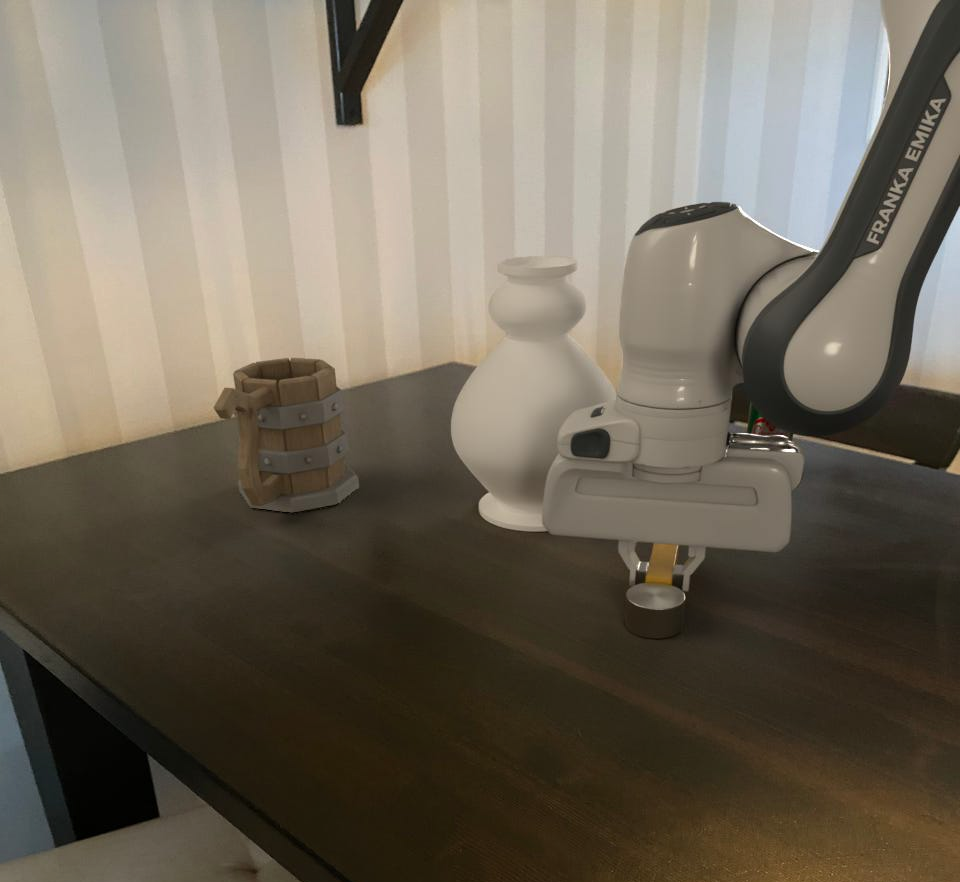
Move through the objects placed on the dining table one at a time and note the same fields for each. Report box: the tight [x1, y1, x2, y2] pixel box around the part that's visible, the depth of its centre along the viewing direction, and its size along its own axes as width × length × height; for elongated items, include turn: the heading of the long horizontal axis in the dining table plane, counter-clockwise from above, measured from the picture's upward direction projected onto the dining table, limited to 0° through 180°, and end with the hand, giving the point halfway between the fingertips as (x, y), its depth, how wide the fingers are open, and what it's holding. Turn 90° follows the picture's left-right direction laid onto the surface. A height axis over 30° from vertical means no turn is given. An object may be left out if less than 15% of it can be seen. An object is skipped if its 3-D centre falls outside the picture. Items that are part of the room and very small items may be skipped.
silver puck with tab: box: [624, 543, 686, 640], centre depth 81 cm, size 14×5×3 cm, turn 165°
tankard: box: [213, 357, 360, 513], centre depth 100 cm, size 20×13×15 cm, turn 161°
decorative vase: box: [450, 255, 616, 533], centre depth 94 cm, size 18×18×25 cm
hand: (658, 586), depth 81 cm, fingers closed on silver puck with tab, 2 cm apart
